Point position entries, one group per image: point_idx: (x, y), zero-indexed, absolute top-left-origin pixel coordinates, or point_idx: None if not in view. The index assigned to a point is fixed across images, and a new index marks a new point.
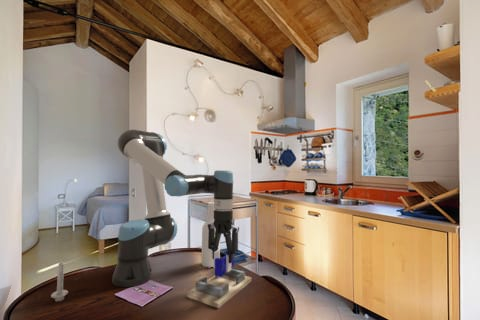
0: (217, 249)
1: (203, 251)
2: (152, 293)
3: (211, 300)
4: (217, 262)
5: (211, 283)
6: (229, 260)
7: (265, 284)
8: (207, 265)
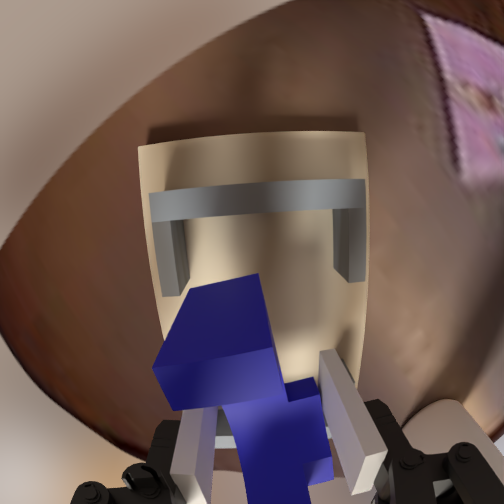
0: (376, 493)
1: (478, 435)
2: (473, 95)
3: (190, 145)
4: (228, 333)
5: (322, 299)
6: (174, 437)
7: (135, 429)
8: (432, 408)
